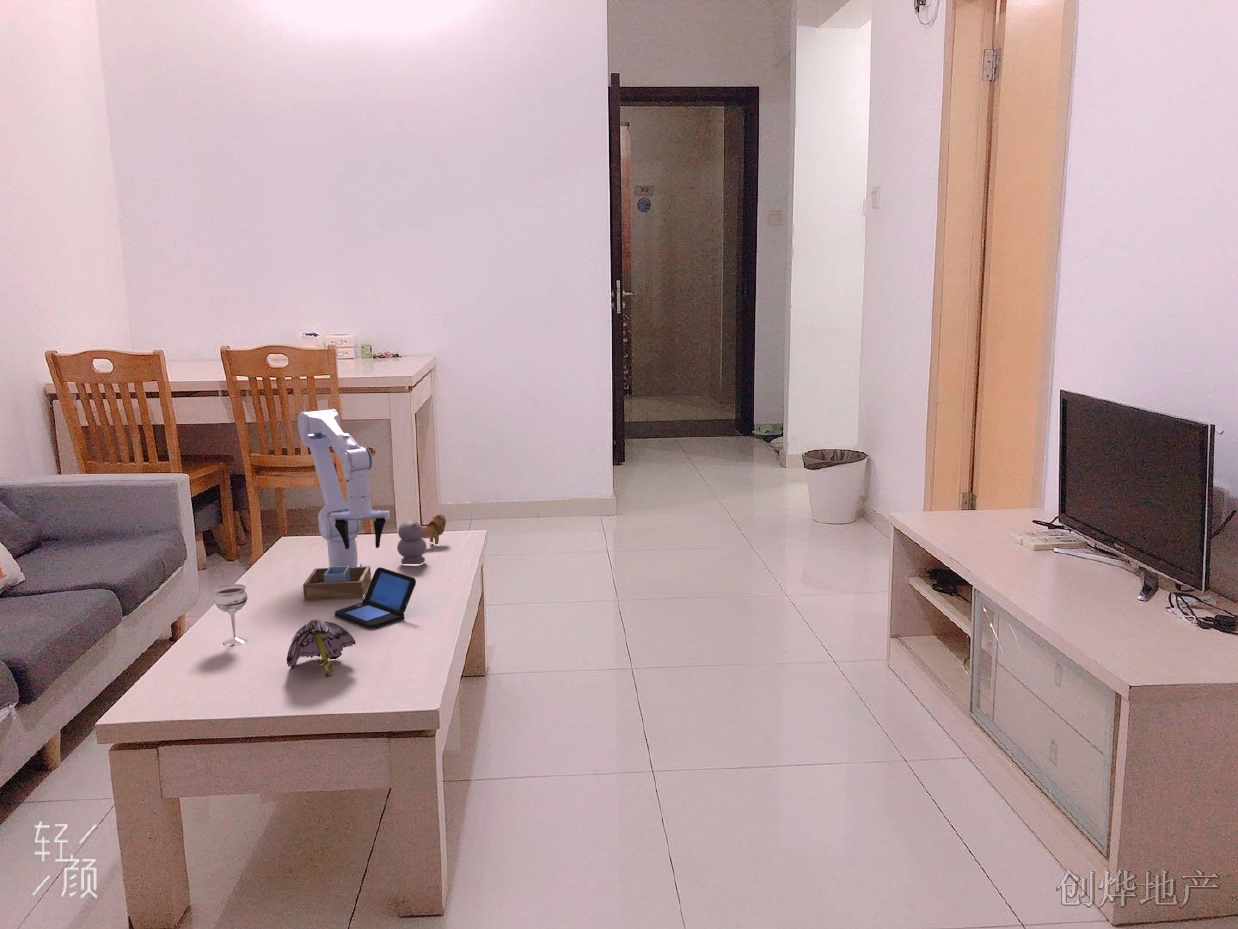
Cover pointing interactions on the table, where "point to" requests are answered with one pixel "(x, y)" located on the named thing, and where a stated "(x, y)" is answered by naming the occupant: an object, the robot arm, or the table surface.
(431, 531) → the lion figurine
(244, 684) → the table surface
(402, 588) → the handheld game console
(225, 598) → the wineglass
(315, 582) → the tray
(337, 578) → the blue crate
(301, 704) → the table surface
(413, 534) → the grey rounded bulbous piece
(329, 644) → the dark domed piece
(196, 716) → the table surface
